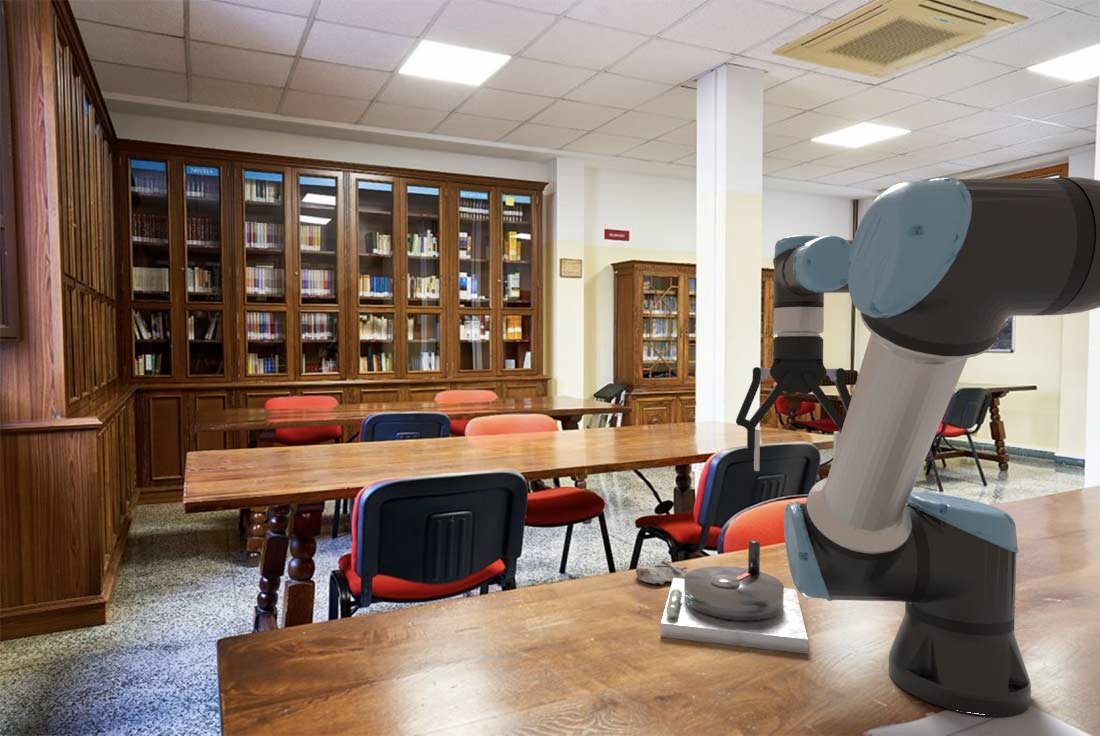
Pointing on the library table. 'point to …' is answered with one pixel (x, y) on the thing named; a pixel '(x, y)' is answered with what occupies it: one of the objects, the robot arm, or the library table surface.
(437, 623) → the library table surface
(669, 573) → the stone
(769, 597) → the crank handle wheel
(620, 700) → the library table surface
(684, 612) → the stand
